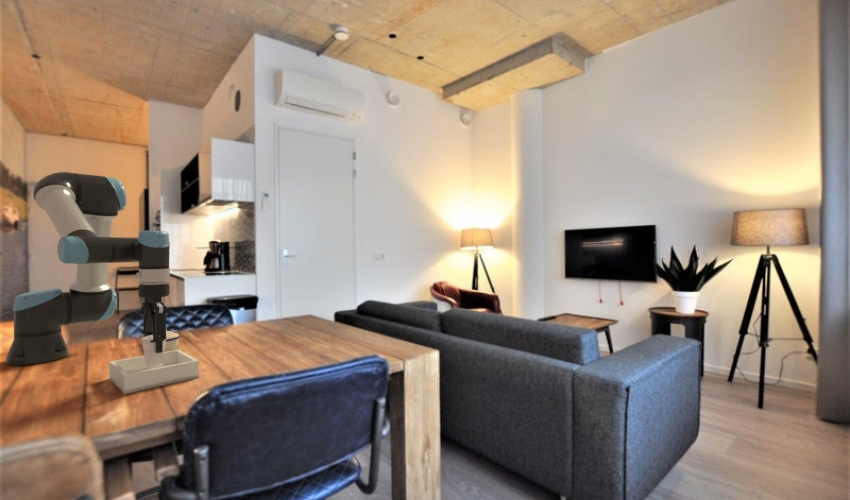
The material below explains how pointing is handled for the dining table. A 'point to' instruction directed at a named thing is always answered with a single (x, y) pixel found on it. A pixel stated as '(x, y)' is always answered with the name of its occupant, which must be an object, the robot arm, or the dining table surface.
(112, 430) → the dining table surface
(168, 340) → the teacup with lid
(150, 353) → the smoothie
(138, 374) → the bin
